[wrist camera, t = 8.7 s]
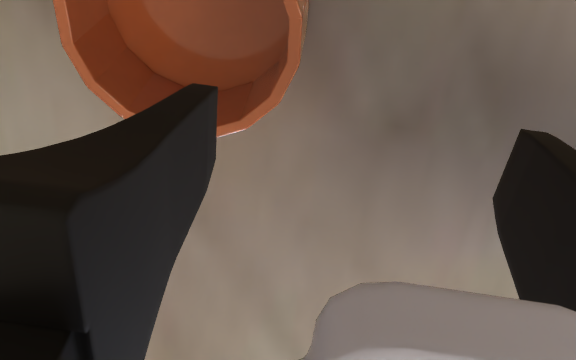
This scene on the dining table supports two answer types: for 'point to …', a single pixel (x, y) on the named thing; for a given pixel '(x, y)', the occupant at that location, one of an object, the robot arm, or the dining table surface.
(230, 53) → the orange bowl
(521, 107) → the dining table surface
